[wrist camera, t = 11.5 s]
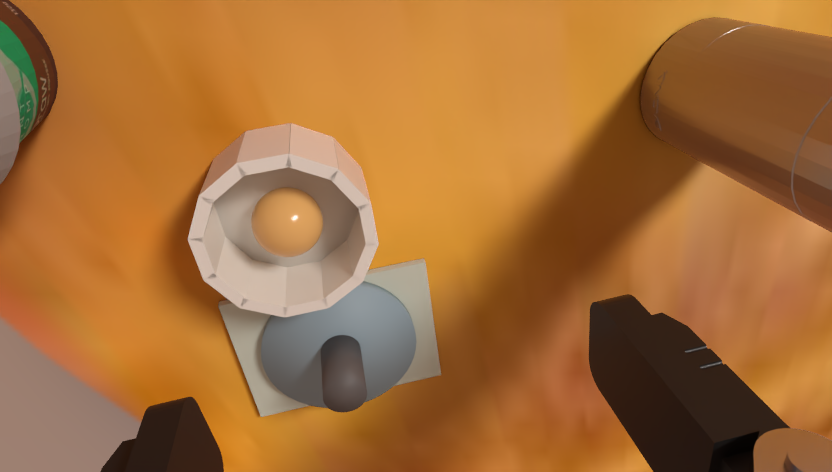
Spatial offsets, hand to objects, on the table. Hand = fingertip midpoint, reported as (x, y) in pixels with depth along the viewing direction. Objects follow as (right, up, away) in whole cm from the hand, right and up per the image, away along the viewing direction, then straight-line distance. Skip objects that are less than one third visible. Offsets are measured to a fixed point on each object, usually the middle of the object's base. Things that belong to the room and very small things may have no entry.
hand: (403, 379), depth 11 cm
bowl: (-9, +5, +27) cm, 29 cm away
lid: (-6, -6, +33) cm, 34 cm away
